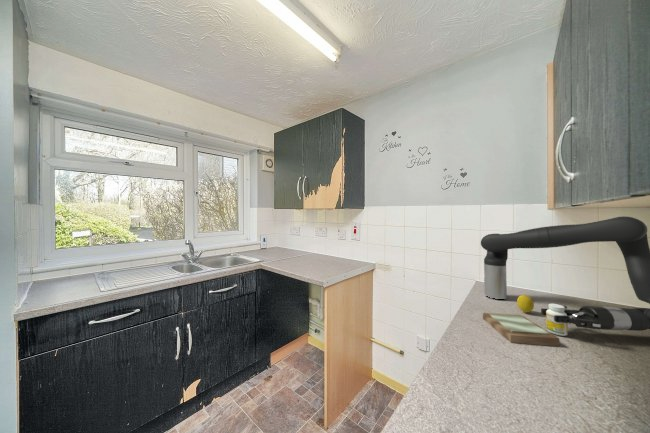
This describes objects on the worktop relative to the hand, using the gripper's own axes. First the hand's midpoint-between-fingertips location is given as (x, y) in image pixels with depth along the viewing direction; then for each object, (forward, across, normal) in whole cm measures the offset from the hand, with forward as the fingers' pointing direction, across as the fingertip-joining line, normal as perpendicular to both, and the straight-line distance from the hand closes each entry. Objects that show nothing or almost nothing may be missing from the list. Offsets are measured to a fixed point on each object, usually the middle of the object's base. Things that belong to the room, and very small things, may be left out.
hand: (548, 315), depth 81 cm
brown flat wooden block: (+10, 0, +6) cm, 12 cm away
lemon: (-4, -18, +7) cm, 19 cm away
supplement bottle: (-3, 0, +6) cm, 7 cm away
